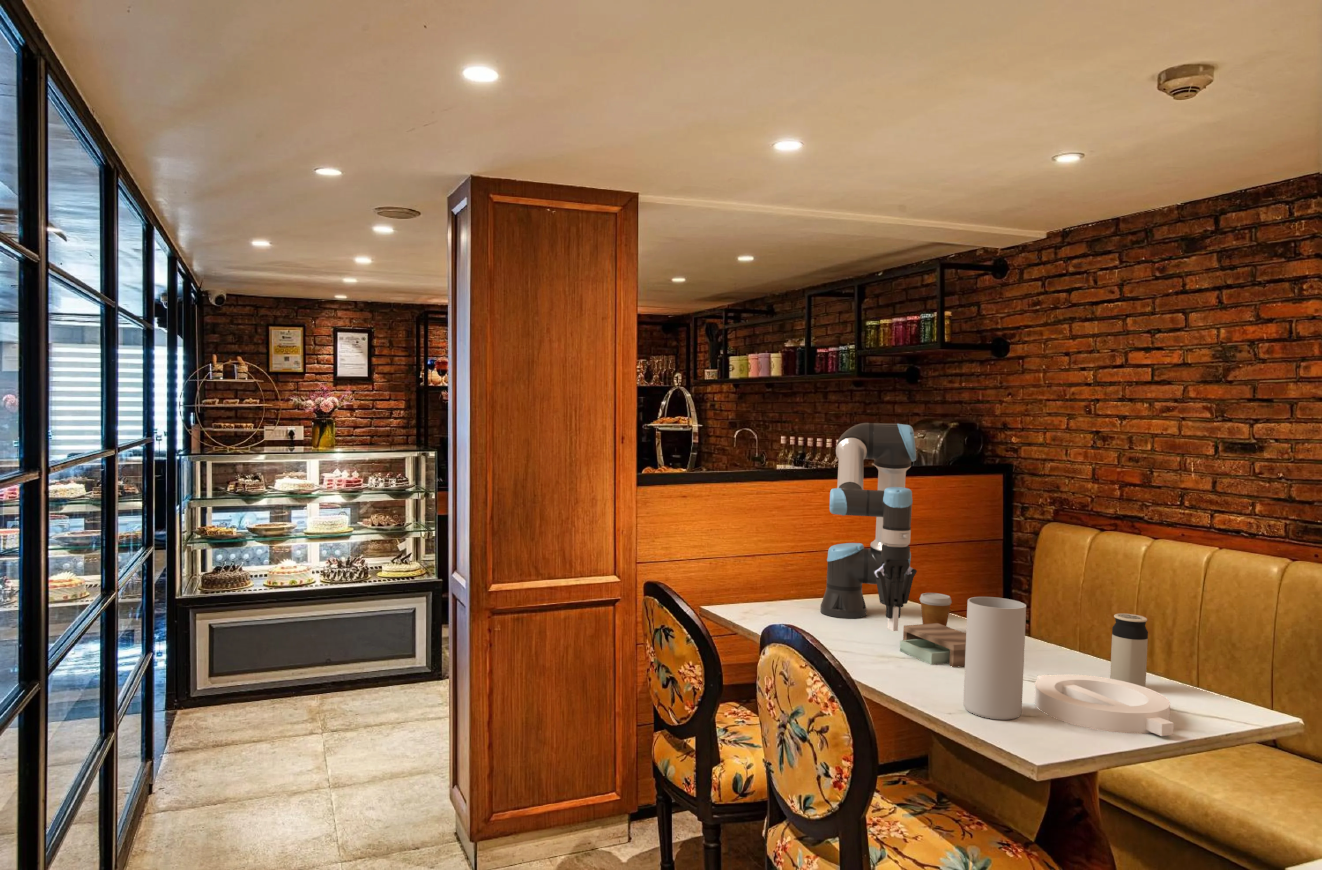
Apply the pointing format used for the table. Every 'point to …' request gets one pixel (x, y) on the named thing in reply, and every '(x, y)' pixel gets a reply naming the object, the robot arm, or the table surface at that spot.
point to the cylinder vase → (994, 657)
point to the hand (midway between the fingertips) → (892, 629)
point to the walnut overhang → (940, 639)
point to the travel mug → (1129, 649)
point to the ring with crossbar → (1103, 704)
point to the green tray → (925, 651)
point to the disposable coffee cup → (935, 608)
